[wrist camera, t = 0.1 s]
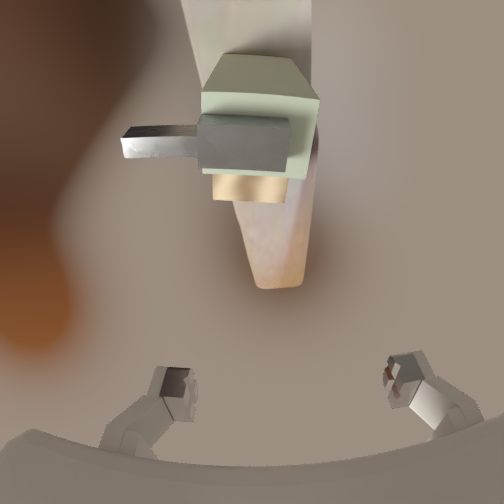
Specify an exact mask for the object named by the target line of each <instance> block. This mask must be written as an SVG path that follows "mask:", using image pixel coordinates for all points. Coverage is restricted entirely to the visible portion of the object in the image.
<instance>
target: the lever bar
mask: <svg viewBox="0 0 504 504" xmlns="http://www.w3.org/2000/svg"><path fill="white" fill-rule="evenodd" d="M291 130H292V129H291V125H290V122H289V119H288V118H281V117H268V116H253V115H233V114H201V116H200V118H199V121H198V124H197V125H156V126H135V127H130V128H129V129H128V131H127V132H126V133H125V134H124V136H123V137H122V138H121V140H122V146H123V152H124V158H152V157H198V168H206V169H235V170H255V171H271V172H285V171H286V164H287V157H288V151H289V144H290V137H291Z"/></svg>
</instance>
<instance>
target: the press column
mask: <svg viewBox="0 0 504 504" xmlns="http://www.w3.org/2000/svg"><path fill="white" fill-rule="evenodd" d="M201 98H202V99H201V114H233V115H253V116H268V117H281V118H288V119H289V122H290V125H291V129H292V130H291V137H290V144H289V151H288V157H287V164H286V171H285V172H271V171H255V170H235V169H206V168H202V170H203V173H204V174H232V175H253V176H270V177H284V178H297V179H306V174H307V169H308V164H309V158H310V153H311V148H312V143H313V137H314V132H315V126H316V121H317V115H318V110H319V104H320V99H319V98H318V96H317V95H316V93H315V92H314V90H313V89H312V87H311V86H310V84H309V83H308V81H307V80H306V78H305V77H304V76H303V74H302V73H301V71H300V70H299V69H298V67H297V66H296V64H295V63H294V62H293V60H292V59H291V58H284V57H273V56H261V55H244V54H223V55H222V56H221V58H220V60H219V61H218V63H217V65H216V67H215V68H214V70H213V72H212V73H211V75H210V77H209V79H208V81H207V82H206V84H205V86H204V88H203V90H202V92H201Z"/></svg>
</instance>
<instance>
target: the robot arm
mask: <svg viewBox="0 0 504 504" xmlns="http://www.w3.org/2000/svg"><path fill="white" fill-rule="evenodd" d="M387 363H388V366H387V367H386V368H385V370H384V373H383V383H384V386H385V389H386V390H387V391H389V392H390V393H389V396H388V399H389V402H390V405H391V408H392V409H394V408H400V407H405V406H409V407H410V408H411V409H412V410H413V411H414V412H415V413H417V414H418V415H419V416H420V417H421V418H422V419H423V420H424V421H425V422H426V423H427V424H428V425H430V426H431V427H432V428H433V429H434V431H433V433H432V434H431V436H430V437H429V438H428V440H427V442H423V443H420V444H416V445H413V446H409V447H405V448H401V449H397V450H392V451H388V452H383V453H379V454H374V455H368V456H363V457H357V458H351V459H345V460H338V461H330V462H322V463H313V464H301V465H287V466H259V467H257V466H256V467H243V466H242V467H241V466H213V465H198V464H186V463H178V462H169V461H162V460H158V458H157V456H156V455H155V454H154V453H153V451H152V450H151V449H150V448H151V447H152V446H153V445H154V444H155V442H157V440H158V439H159V438H160V437H161V436H162V435H163V434H164V433H165V431H166V430H167V429H168V428H169V427H170V426H171V425H172V424H173V423H174V421H181V422H193V421H194V415H195V410H196V409H195V407H194V403H195V402H196V401H197V398H198V385H197V382H196V380H195V379H194V378H193V377H194V372H193V369H192V368H179V367H164V366H157V367H156V368H155V370H154V373H153V376H152V379H151V382H150V386H149V389H148V392H147V395H143V396H142V397H140V398H139V399H138V400H137V401H136V402H134V403H133V404H132V405H131V406H129V407H128V408H127V409H126V410H125V411H123V412H122V413H121V414H120V415H118V416H117V417H116V418H115V419H113V420H112V421H111V422H109V424H107V425H106V428H105V430H104V433H103V436H102V439H101V441H100V444H99V447H98V448H95V447H91V446H88V445H84V444H80V443H76V442H73V441H70V440H67V439H64V438H61V437H57V436H54V435H51V434H49V433H46V432H43V431H40V430H37V429H29V430H27V431H25V432H23V433H22V434H20V435H18V436H16V437H15V438H13V439H12V440H10V441H9V442H7V443H6V445H5V446H4V447H3V449H2V450H1V452H0V504H504V412H503V413H501V414H499V415H497V416H495V417H493V418H490V419H488V420H484V418H483V416H482V414H481V412H480V409H479V407H478V405H477V403H476V401H475V400H474V399H472V398H471V397H469V396H468V395H466V394H465V393H463V392H462V391H460V390H459V389H457V388H456V387H454V386H452V385H451V384H449V383H448V382H446V381H445V380H443V379H442V378H440V377H439V376H437V377H436V376H435V374H434V372H433V370H432V368H431V366H430V365H429V363H428V361H427V358H426V356H425V355H424V353H423V351H421V350H420V351H415V352H408V353H403V354H397V355H391V356H390V357H389V358H388V361H387Z"/></svg>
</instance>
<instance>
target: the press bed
mask: <svg viewBox="0 0 504 504" xmlns="http://www.w3.org/2000/svg"><path fill="white" fill-rule="evenodd" d="M288 179H289V178H284V177H270V176H253V175H232V174H213V200H231V201H252V202H271V203H285V197H286V191H287V185H288Z"/></svg>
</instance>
